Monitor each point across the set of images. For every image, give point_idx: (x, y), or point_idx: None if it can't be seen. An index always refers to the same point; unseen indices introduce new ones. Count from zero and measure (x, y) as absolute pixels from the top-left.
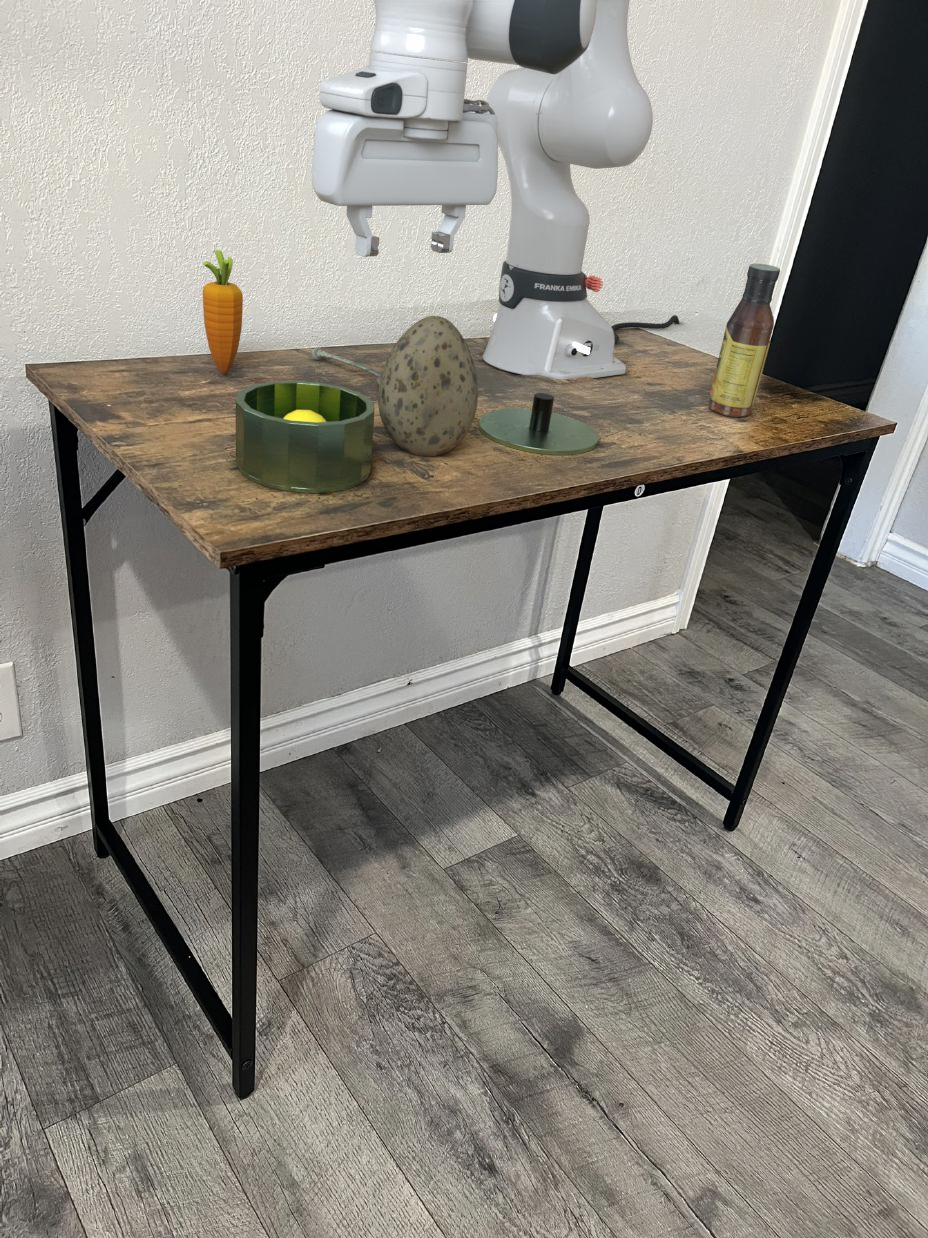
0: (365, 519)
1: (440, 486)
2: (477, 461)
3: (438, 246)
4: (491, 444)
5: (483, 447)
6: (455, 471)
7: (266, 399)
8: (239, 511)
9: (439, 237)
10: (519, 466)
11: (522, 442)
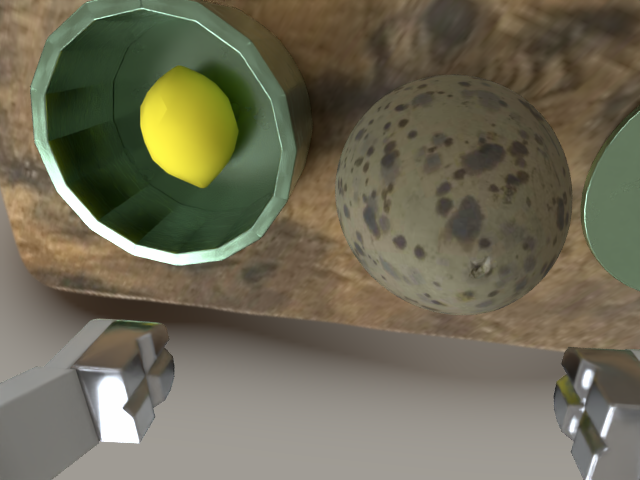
0: (205, 295)
1: (358, 266)
2: None
3: (567, 405)
4: (585, 173)
5: None
6: None
7: (136, 15)
8: (69, 211)
9: (583, 446)
10: None
11: (605, 234)
